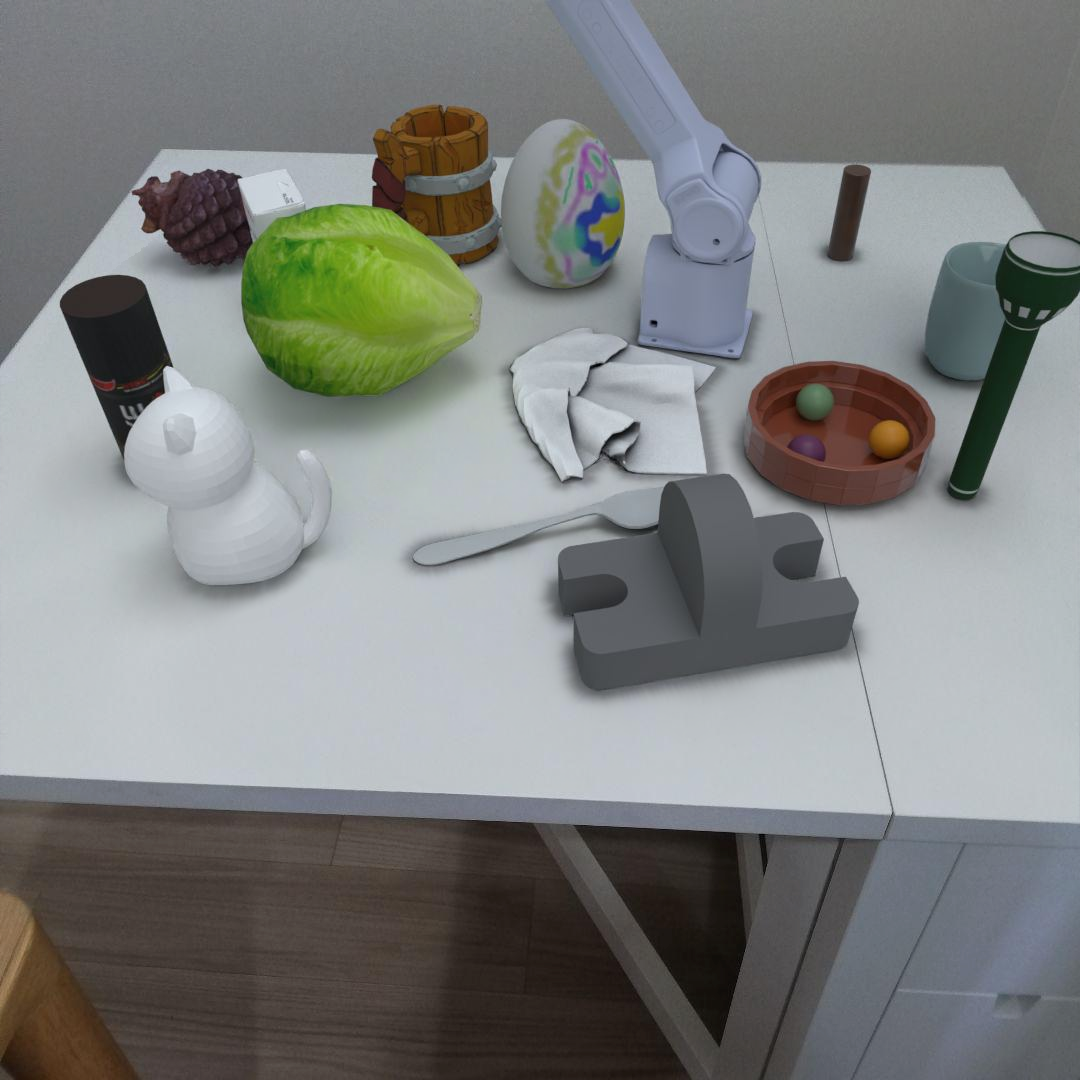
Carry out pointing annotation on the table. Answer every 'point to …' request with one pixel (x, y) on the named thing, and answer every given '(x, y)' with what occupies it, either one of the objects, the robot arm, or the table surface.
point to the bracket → (701, 591)
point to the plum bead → (808, 447)
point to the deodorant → (118, 346)
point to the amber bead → (889, 439)
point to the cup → (965, 312)
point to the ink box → (269, 199)
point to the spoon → (620, 508)
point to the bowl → (837, 433)
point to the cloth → (610, 404)
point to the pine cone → (198, 215)
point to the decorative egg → (562, 206)
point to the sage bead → (814, 402)
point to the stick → (848, 212)
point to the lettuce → (353, 300)
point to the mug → (440, 178)
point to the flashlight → (1015, 339)
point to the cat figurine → (220, 487)
